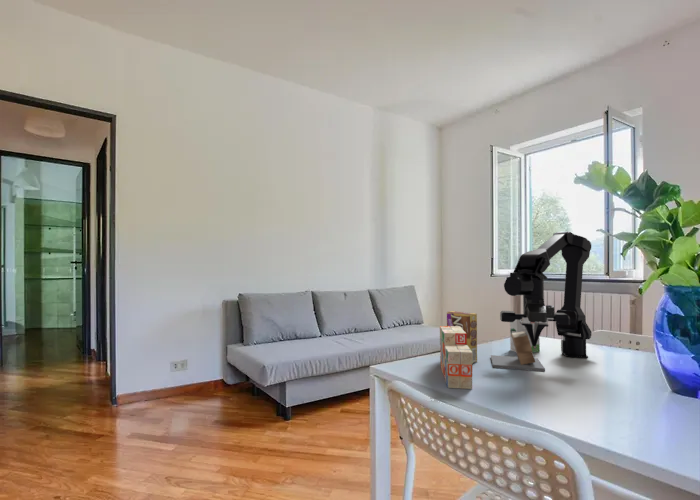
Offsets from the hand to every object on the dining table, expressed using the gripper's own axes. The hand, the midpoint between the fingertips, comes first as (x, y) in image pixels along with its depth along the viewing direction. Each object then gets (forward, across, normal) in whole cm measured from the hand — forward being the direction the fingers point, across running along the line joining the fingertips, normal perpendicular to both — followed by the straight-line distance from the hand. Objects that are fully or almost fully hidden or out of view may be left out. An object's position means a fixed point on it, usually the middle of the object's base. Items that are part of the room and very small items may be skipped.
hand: (533, 345), depth 116 cm
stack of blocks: (+6, -23, -17) cm, 29 cm away
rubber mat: (+6, -5, 0) cm, 8 cm away
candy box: (+6, -21, 0) cm, 22 cm away
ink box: (+6, 0, +19) cm, 20 cm away
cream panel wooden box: (+5, -2, 0) cm, 5 cm away
